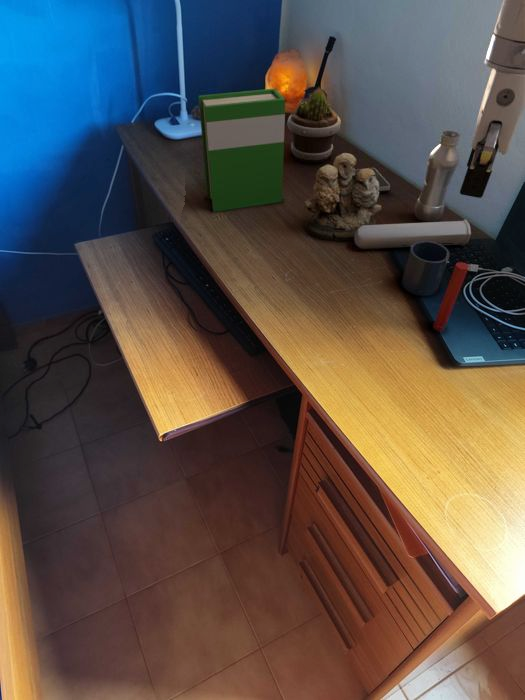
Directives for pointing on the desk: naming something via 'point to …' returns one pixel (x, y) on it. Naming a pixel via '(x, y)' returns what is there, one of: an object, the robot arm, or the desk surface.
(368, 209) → the owl figurine
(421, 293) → the tumbler
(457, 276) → the red cylindrical rod
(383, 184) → the external hard drive
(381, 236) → the tube
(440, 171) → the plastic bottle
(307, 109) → the flowerpot
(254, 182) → the hardback book
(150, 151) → the desk surface
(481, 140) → the robot arm
